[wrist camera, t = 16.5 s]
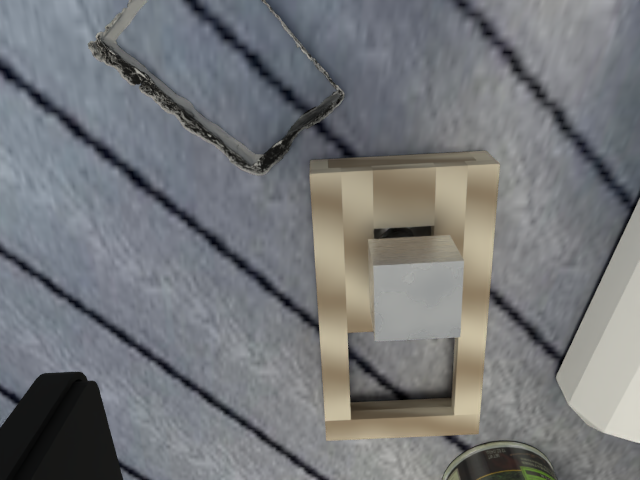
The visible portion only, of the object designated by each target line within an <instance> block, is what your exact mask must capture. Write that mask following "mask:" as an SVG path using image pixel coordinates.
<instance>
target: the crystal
mask: <svg viewBox="0 0 640 480" xmlns="http://www.w3.org/2000/svg"><path fill="white" fill-rule="evenodd" d="M617 304H618V305H617ZM616 306H617V307H616ZM615 308H616V309H615ZM614 310H615V311H614ZM613 312H614V313H613ZM612 314H613V315H612ZM611 316H612V317H611ZM610 318H611V319H610ZM609 320H610V321H609ZM608 322H609V323H608ZM584 371H585V372H584ZM583 373H584V374H583ZM582 375H583V376H582ZM581 377H582V378H581ZM580 379H581V380H580ZM556 380H557V382H558V384H559V386H560V388H561V390H562V392H563V394H564V397H565V399H566V401H567V403H568V405H569V406H570V407H571V408H572V409H573V410H574V411H575V412H576V413H577V414H578V415H579V416H580V417H581V419H582V420H583V421H584V422H585V423H586V424H587V425H588V426H591V427H593V428H595V429H597V430H599V431H601V432H603V433H606V434H609V435H613V436H616V437H620V438H623V439H627V440H630V441H634V442H637V443H640V199H639V201H638V203H637V205H636V207H635V209H634V212H633V214H632V216H631V218H630V220H629V222H628V224H627V226H626V229H625V231H624V233H623V235H622V237H621V239H620V241H619V243H618V246H617V248H616V250H615V252H614V254H613V256H612V258H611V261H610V263H609V265H608V267H607V269H606V271H605V273H604V275H603V278H602V280H601V282H600V284H599V286H598V288H597V290H596V292H595V295H594V297H593V299H592V301H591V303H590V305H589V307H588V310H587V312H586V314H585V316H584V318H583V320H582V322H581V324H580V327H579V329H578V331H577V333H576V335H575V337H574V339H573V341H572V344H571V346H570V348H569V350H568V352H567V354H566V356H565V359H564V361H563V363H562V365H561V367H560V369H559V371H558V373H557V376H556ZM579 381H580V382H579ZM578 383H579V384H578ZM577 385H578V386H577ZM576 387H577V388H576Z"/></svg>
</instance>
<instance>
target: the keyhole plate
mask: <svg viewBox="0 0 640 480" xmlns="http://www.w3.org/2000/svg"><path fill="white" fill-rule="evenodd" d="M499 170H500V163H499V162H498V161H496V160H495V159H494V158H493V157H492V156H491V155H490V154H489V153H488V152H487V151H471V152H452V153H433V154H415V155H396V156H377V157H358V158H339V159H321V160H310V190H311V205H312V221H313V237H314V253H315V268H316V284H317V300H318V316H319V331H320V347H321V363H322V379H323V394H324V410H325V426H326V441H332V440H355V439H377V438H400V437H423V436H445V435H468V434H478V433H479V421H480V408H481V396H482V383H483V370H484V358H485V345H486V333H487V320H488V308H489V295H490V283H491V270H492V258H493V245H494V232H495V220H496V207H497V195H498V182H499ZM420 226H431V236H440V235H450V236H451V238H452V240H453V241H454V243H455V245H456V247H457V249H458V251H459V252H460V254H461V256H462V258H463V260H464V273H463V293H462V313H461V333H460V337H457V338H455V345H454V364H453V383H452V398H436V399H414V400H392V401H370V402H350V385H349V359H348V334H347V333H353V332H373V326H372V320H371V314H370V300H369V263H368V239H374V229H381V228H400V227H420Z"/></svg>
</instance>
